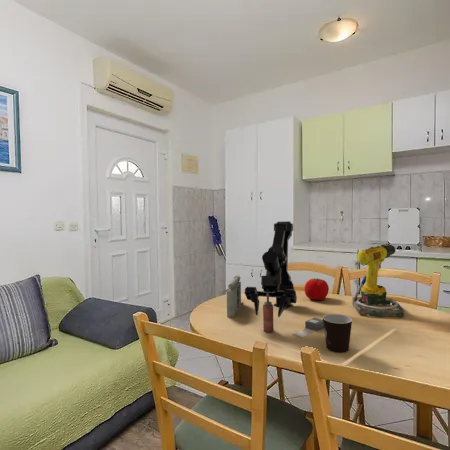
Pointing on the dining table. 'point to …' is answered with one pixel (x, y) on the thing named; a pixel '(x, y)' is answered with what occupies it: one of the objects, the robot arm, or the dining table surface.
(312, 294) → the tomato
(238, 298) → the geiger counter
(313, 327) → the finder
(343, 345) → the coffee mug
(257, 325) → the dining table surface
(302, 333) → the subfloor panel
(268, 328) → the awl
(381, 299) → the cordless drill
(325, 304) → the dining table surface
